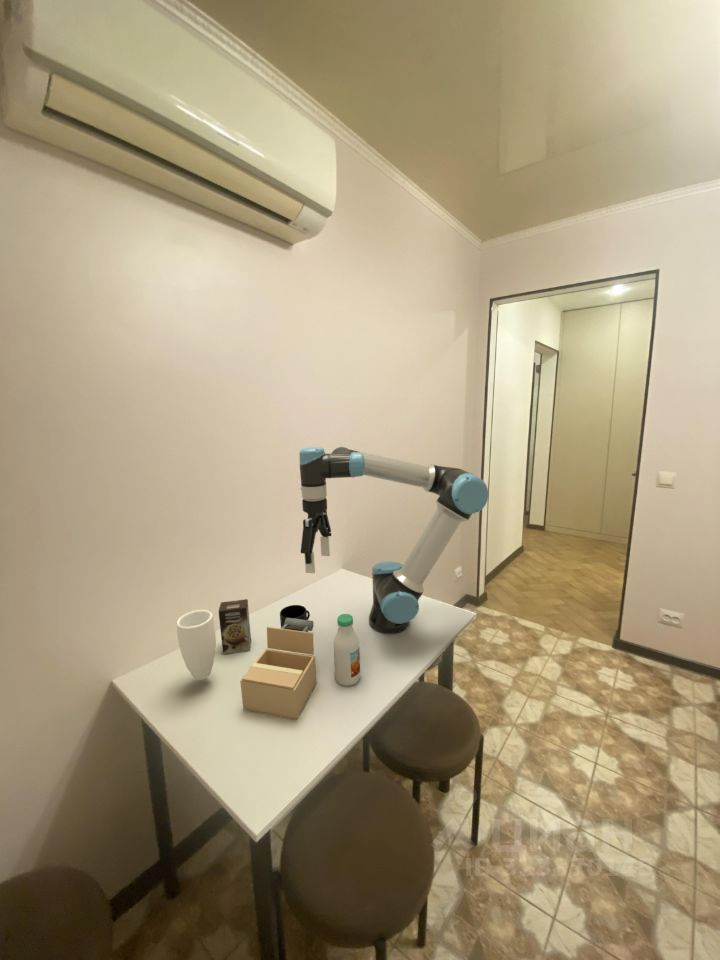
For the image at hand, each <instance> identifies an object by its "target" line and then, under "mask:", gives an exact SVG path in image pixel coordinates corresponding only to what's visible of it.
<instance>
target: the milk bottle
mask: <svg viewBox="0 0 720 960" xmlns="http://www.w3.org/2000/svg"><path fill="white" fill-rule="evenodd" d="M336 619H337V620H336V622H337V627H338V628H337V631H336V634H335V636H334V639H333V663H334V664H333V666H334V667H333V668H334V678H335V681H336V682H337V684H338V685H340V686H343V687H350V686H353V685H355V684H357V683H358V682H359V681H360V679H361V655H360V641H359V637H358V635H357V634H356V631H355V629H354V627H353V625H354V617H353V615H351V614H349V613H342V614H340V615H339V616H337V618H336Z"/></svg>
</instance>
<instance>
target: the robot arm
mask: <svg viewBox="0 0 720 960" xmlns="http://www.w3.org/2000/svg"><path fill="white" fill-rule="evenodd" d="M299 473H300V475H299V476H300V486H301V487H300V488H299V489H300V490H301V498H302V501H301V503H302V511H303V512H304V513H306V514H307V519H306V518H305V519H303V520H302V526H303V527H302V536H301V543H300V544H301V545H300V554H304V566H305V573H306V574H315V573H316V565H315V552H314V551H313V549H314V545H315V540H316V534H317V533H318V531H319V534H320V535H321V536H320V539H319V540H320V541H319V542H320V554H321V555H320V556H321V557H330V555H331V554H330V553H331V551H330V537H332V529H331V524H330V521H329V517H328V512H327V511H328V499H327V482H326V479H340V478H342V479H343V478H353V479H354V478H357V477H363V476H367V477H371V478H376V479H381V480H385V481H391V482H395V483H400V484H404V485H409V486H413V487H418V488H422V489H423V490H424V491H425V492H428V493H432V494H435V495H437V496H438V498H437V499H436V507H437V508H436V510H435V511H434V513H433V515H432V517H431V518H430V520H429V522H428V523H427V525H426V527H425V528H424V530H423V532H422V533H421V535H420V537H419V538H418V540H417V541H416V543H415V545H414V546H413V548H412V549H411V551H410V553H409V555H408V556H407V558H406V560H405V561H404V563H403V564H402V563H401V562H397V561H383V562H378V563H376V564H374V565H373V567H372V570H371V571H372V572H371V576H372V601H373V602H372V605H371V606H372V607H371V608H370V612H369V615H368V624H369V627H370V628H372V629H373V630H374V631H376V632H379V633H383V634H397V633H401V632H403V631H405V630H406V629H407V628H408V627H409V626H410V622H411V621H412V620H414V619H415V618H416V616H417V615H418V613H419V609H420V605H419V604H420V603H419V600H420V598H421V597H422V595H423V593H424V592H425V589H424V585H423V584H424V583H425V581H426V579H427V577H428V576H429V574H430V573H431V571H432V569H434V566H435V565H436V563H437V562H438V560H439V559H440V556H441V555H442V554H443V552H444V550H445V549H446V547H447V546H448V545H449V543H450V541H451V539H452V538H453V537H454V535H455V533H456V531H457V529H458V528H459V526H460V525H461V523H463V522H468V521H469V519H470V518H471V516H472V515H474V514H476V513H479V512H480V511H482V510H483V509H484V508H485V506H486V504H487V502H488V499H489V490H488V485H487V484H486V482H485V481H484V480H483V479H482V478H480V477H479V476H478V475H477V474H474V473H472V472H468V471H466V470H464V469H462V468H459V467H458V468H457V467H450V466H441V465H436V464H430V465H428V466H427V465H423V464H417V463H413V462H408V461H405V460H400V459H399V460H398V459H394V458H390V457H386V456H380V455H376V454H373V453H367V452H363V451H357V450H354V449H349V448H347V447H343V446H339V447H336V448H334V449H333V450H332V451H331V453H326V452H325V449H324V448H323V447H321V446H320V447H319V446H317V447H315V446H313V447H312V446H311V447H304V448H302V449H300V451H299Z"/></svg>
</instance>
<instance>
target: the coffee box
mask: <svg viewBox="0 0 720 960" xmlns="http://www.w3.org/2000/svg"><path fill="white" fill-rule="evenodd" d="M218 619H219V628H220V636H221V637H220V639H221V648H222V655H229V654H236V653H242V652H249V651H251V649H252V648H251V647H252V633H251V623H250V613H249V599H247V598H246V599H237V600H230V601H222V602H220V604H219V609H218Z"/></svg>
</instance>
